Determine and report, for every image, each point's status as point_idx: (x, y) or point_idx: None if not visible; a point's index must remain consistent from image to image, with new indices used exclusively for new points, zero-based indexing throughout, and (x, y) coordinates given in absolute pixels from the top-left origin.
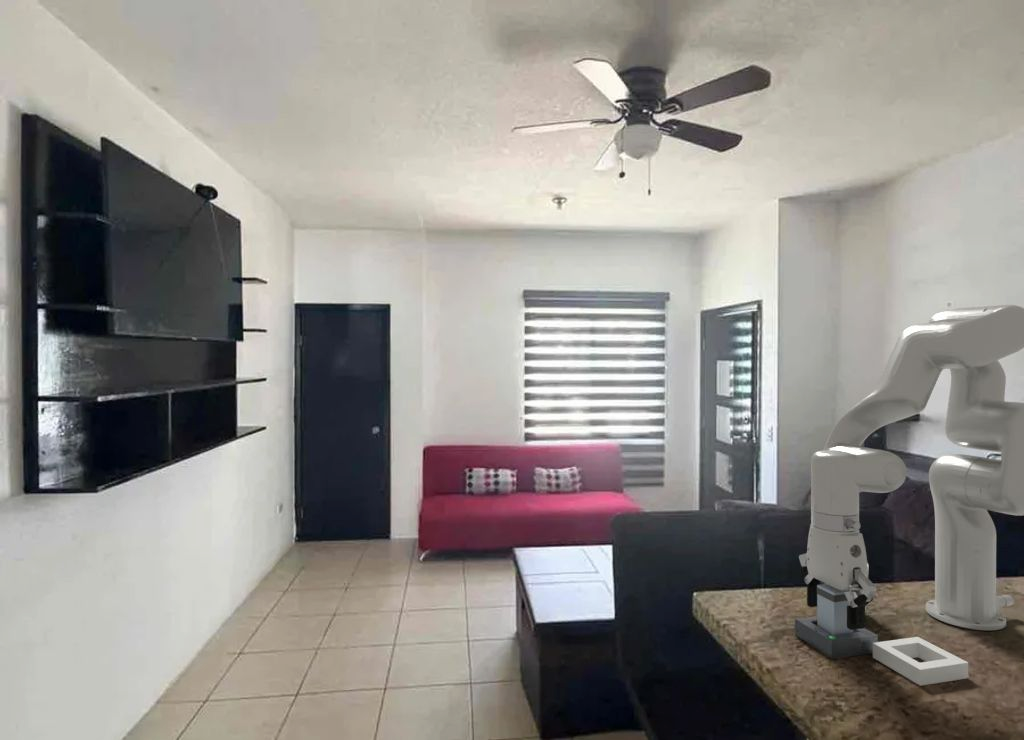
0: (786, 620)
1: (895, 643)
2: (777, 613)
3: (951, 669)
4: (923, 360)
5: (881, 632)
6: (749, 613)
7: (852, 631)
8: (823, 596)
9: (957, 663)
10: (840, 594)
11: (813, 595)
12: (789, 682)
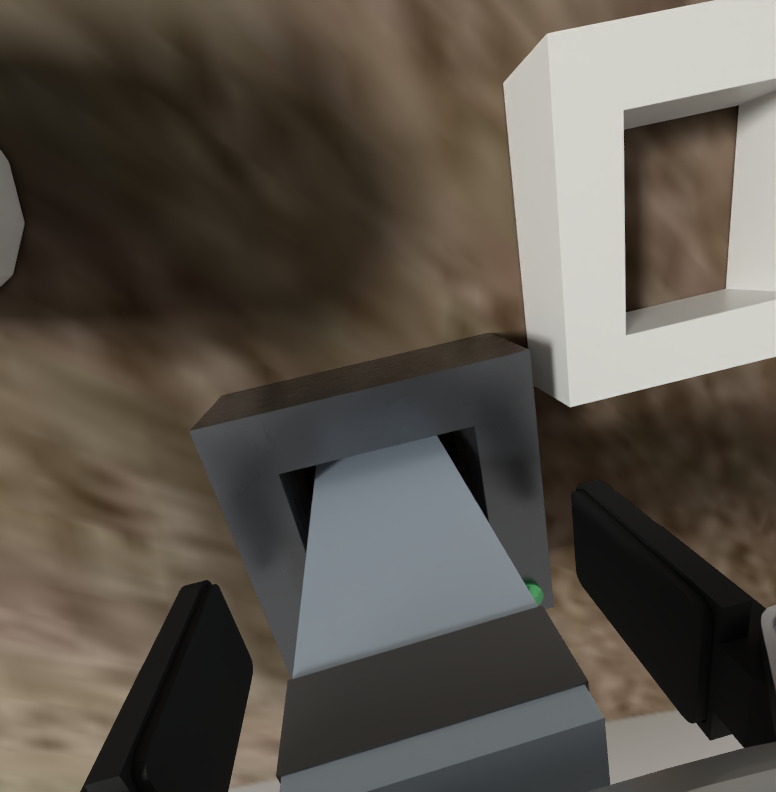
0: (130, 593)
1: (600, 280)
2: (37, 607)
3: None
4: None
5: (244, 144)
6: (67, 713)
7: (446, 455)
8: None
9: None
10: None
11: (223, 737)
12: (625, 705)
